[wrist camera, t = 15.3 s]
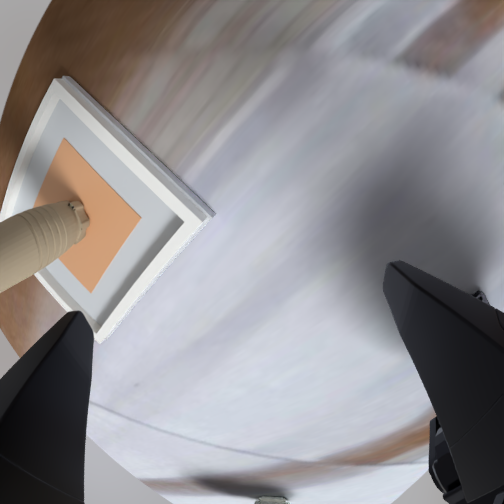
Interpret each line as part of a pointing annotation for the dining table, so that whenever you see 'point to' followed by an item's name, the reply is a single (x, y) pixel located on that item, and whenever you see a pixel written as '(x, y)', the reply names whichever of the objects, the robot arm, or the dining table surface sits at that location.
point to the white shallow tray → (102, 205)
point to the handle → (38, 239)
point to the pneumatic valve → (271, 500)
